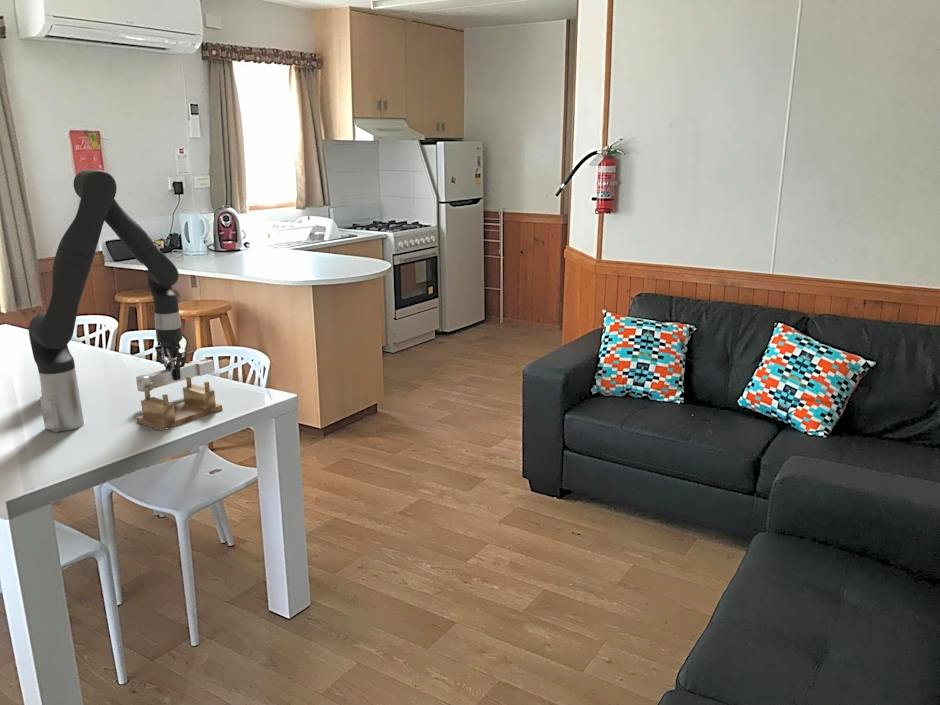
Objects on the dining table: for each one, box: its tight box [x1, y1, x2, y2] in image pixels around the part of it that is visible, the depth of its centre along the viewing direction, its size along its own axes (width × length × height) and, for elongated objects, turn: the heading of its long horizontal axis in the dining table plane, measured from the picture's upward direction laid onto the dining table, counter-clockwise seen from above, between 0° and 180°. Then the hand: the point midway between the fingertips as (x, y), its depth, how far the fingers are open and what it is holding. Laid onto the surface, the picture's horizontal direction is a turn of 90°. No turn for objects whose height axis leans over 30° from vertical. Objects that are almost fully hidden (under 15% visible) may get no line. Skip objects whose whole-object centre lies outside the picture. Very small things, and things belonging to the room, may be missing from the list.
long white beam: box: [135, 357, 215, 393], centre depth 240 cm, size 26×5×4 cm, turn 145°
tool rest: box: [135, 376, 223, 431], centre depth 225 cm, size 21×12×10 cm, turn 145°
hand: (173, 378), depth 239 cm, fingers closed on long white beam, 3 cm apart
